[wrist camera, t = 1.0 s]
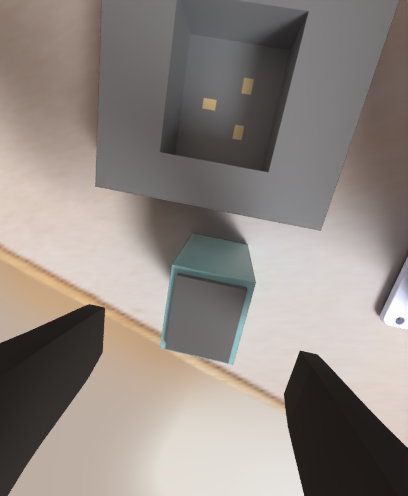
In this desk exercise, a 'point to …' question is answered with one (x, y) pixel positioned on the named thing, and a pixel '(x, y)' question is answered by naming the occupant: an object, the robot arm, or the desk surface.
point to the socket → (235, 100)
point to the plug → (208, 299)
